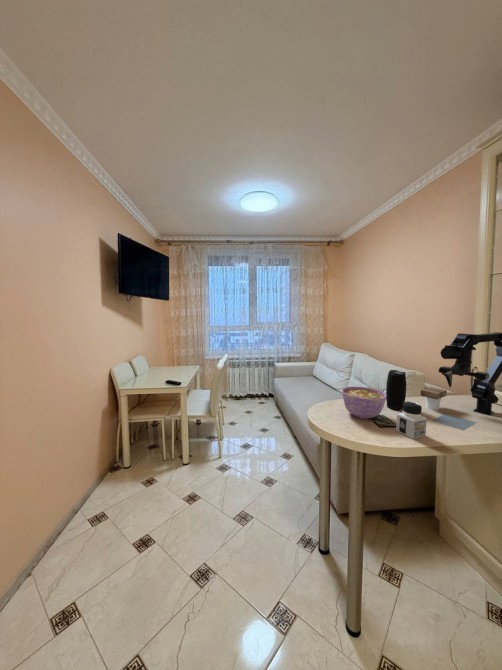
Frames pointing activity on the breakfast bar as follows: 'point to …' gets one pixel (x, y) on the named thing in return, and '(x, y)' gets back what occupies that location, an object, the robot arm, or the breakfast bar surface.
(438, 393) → the brown rectangular block
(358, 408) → the bowl of food
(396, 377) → the portable speaker
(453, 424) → the rubber mat
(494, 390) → the robot arm
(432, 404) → the white cup
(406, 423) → the container
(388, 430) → the breakfast bar surface
